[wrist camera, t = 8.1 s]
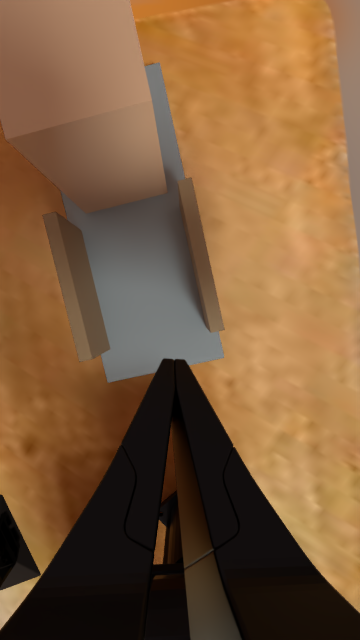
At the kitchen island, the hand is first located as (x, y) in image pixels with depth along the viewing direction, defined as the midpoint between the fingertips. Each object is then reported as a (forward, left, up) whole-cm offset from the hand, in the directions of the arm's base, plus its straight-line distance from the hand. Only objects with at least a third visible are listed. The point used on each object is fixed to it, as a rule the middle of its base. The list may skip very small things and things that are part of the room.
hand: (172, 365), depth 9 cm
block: (+6, +15, -12) cm, 21 cm away
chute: (+3, +10, -13) cm, 17 cm away
